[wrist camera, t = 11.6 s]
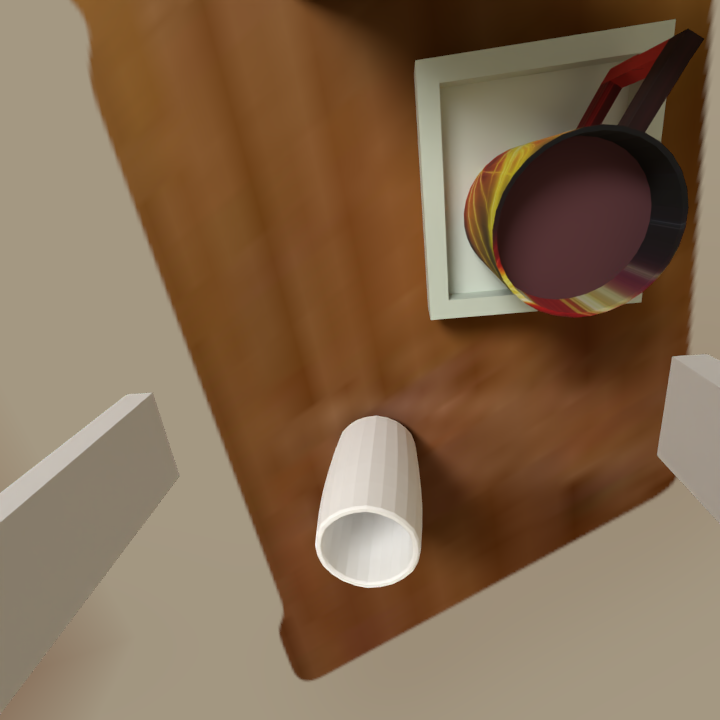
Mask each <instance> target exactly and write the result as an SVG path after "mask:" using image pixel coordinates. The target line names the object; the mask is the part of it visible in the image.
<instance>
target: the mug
mask: <svg viewBox="0 0 720 720" xmlns="http://www.w3.org/2000/svg"><path fill="white" fill-rule="evenodd" d="M703 40H704V38H702V37H700V36H699V35H697V34H696V33H694V32H693V31H691V30H689V29H687V30H685V31H683V32H681V33H679V34H677V35H675V36H674V37H672V38H670V39H668V40H666V41H664V42H662V43H660V44H658V45H656V46H655V47H653V48H651V49H649V50H647V51H645V52H643V53H641V54H637V55H635V56H633V57H631V58H630V59H628V60H626V61H624V62H622V63H620V64H618V65H616V66H615V67H613V68H611V69H610V70H609V72H608V73H607V75H606V77H605V78H604V80H603V81H602V83H601V85H600V87H599V88H598V90H597V92H596V94H595V96H594V97H593V99H592V101H591V103H590V105H589V106H588V108H587V110H586V112H585V114H584V115H583V117H582V119H581V121H580V122H579V124H578V126H577V128H576V129H575V130H571V131H568V132H564V133H561V134H558V135H554V136H551V137H547V138H544V139H540V140H537V141H533V142H530V143H526V144H523V145H520V146H517V147H514V148H511V149H508V150H507V151H505V152H503V153H502V154H500V155H498V156H496V157H495V158H494V159H493V160H492V161H491V162H489V163H488V164H487V165H486V166H485V167H484V168H483V170H482V171H481V172H480V173H479V174H478V176H477V177H476V179H475V181H474V182H473V184H472V186H471V188H470V190H469V193H468V196H467V199H466V202H465V209H464V228H465V232H466V236H467V239H468V241H469V243H470V246H471V248H472V249H473V251H474V252H475V253H476V255H477V256H478V257H479V258H480V259H481V260H482V261H483V263H484V264H485V265H486V266H487V267H488V268H489V269H490V270H491V271H492V272H493V273H494V274H495V275H496V276H497V277H498V278H499V279H500V280H501V281H502V282H503V283H504V284H505V285H506V286H507V287H508V288H509V290H510V291H511V292H512V293H513V294H515V295H516V296H517V297H518V298H519V299H520V300H522V301H523V302H524V303H525V304H527V305H529V306H531V307H533V308H534V309H536V310H538V311H540V312H544V313H547V314H551V315H554V316H561V317H572V318H574V317H585V316H592V315H596V314H600V313H604V312H607V311H610V310H612V309H614V308H617V307H619V306H621V305H623V304H625V303H627V302H629V301H630V300H632V299H633V298H635V297H636V296H638V295H639V294H641V293H642V292H643V291H644V290H646V289H647V288H648V287H649V286H650V285H651V284H652V283H653V282H654V281H655V280H656V279H657V278H658V277H659V276H660V275H661V273H662V272H663V271H664V270H665V268H666V267H667V266H668V264H669V263H670V261H671V260H672V258H673V256H674V254H675V252H676V251H677V249H678V247H679V245H680V242H681V239H682V236H683V233H684V230H685V227H686V221H687V214H688V193H687V186H686V183H685V179H684V176H683V173H682V170H681V168H680V166H679V165H678V163H677V161H676V159H675V158H674V156H673V154H672V153H671V152H670V151H669V150H668V149H667V148H666V147H665V146H664V145H663V144H662V143H661V142H660V141H659V140H657V139H655V138H653V137H652V136H650V135H648V134H647V133H645V132H646V130H647V129H648V127H649V125H650V124H651V122H652V121H653V119H654V117H655V116H656V114H657V112H658V111H659V109H660V108H661V106H662V104H663V103H664V101H665V99H666V98H667V96H668V95H669V93H670V91H671V90H672V88H673V87H674V85H675V83H676V82H677V80H678V78H679V77H680V75H681V74H682V72H683V70H684V69H685V67H686V66H687V64H688V62H689V61H690V59H691V58H692V56H693V55H694V53H695V52H696V50H697V49H698V47H699V46H700V44H701V43H702V42H703ZM642 79H644V81H643V83H642V84H641V86H640V88H639V89H638V91H637V93H636V95H635V96H634V98H633V100H632V101H631V103H630V105H629V106H628V108H627V110H626V111H625V113H624V115H623V116H622V118H621V120H620V122H619V123H618V125H609V124H602V122H603V120H604V119H605V117H606V115H607V114H608V112H609V110H610V108H611V107H612V105H613V103H614V101H615V100H616V98H617V96H618V94H619V93H620V91H621V89H622V88H623V87H626V86H628V85H630V84H633V83H635V82H638V81H640V80H642Z"/></svg>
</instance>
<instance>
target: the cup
mask: <svg viewBox="0 0 720 720" xmlns="http://www.w3.org/2000/svg"><path fill="white" fill-rule="evenodd" d="M421 539H422V495H421V484H420V474H419V466H418V459H417V452H416V446H415V442H414V439H413V437H412V434H411V433H410V432H409V431H408V430H407V429H406V428H405V427H404V426H403V425H401V424H400V423H398V422H397V421H395V420H392V419H389V418H387V417H381V416H370V417H365V418H362V419H359V420H356V421H355V422H353V423H352V424H350V425H349V426H348V427H347V428H346V429H345V430H344V431H343V432H342V434H341V437H340V439H339V442H338V445H337V447H336V450H335V453H334V456H333V458H332V461H331V465H330V468H329V471H328V475H327V478H326V482H325V486H324V490H323V494H322V499H321V504H320V510H319V517H318V525H317V533H316V542H315V547H316V551H317V555H318V557H319V559H320V561H321V563H322V565H323V566H324V567H325V568H326V569H327V570H328V571H329V572H331V573H332V574H333V575H334V576H336V577H338V578H339V579H341V580H342V581H345V582H347V583H350V584H353V585H356V586H361V587H366V588H372V587H382V586H386V585H391V584H394V583H396V582H398V581H400V580H402V579H403V578H405V577H406V576H407V575H409V574H410V573H411V572H412V571H413V570H414V569H415V567H416V565H417V563H418V561H419V556H420V552H421Z"/></svg>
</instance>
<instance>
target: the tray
mask: <svg viewBox="0 0 720 720" xmlns="http://www.w3.org/2000/svg"><path fill="white" fill-rule="evenodd" d="M675 23H676V19H673V20H666V21H660V22H654V23H648V24H641V25H635V26H629V27H622V28H616V29H610V30H604V31H597V32H591V33H585V34H578V35H572V36H566V37H559V38H553V39H547V40H541V41H534V42H528V43H522V44H515V45H509V46H503V47H497V48H490V49H484V50H478V51H471V52H465V53H459V54H452V55H446V56H440V57H434V58H427V59H421V60H415V68H414V83H415V99H416V116H417V132H418V149H419V165H420V182H421V198H422V214H423V231H424V247H425V264H426V280H427V296H428V309H429V314H430V319H431V320H437V319H449V318H461V317H473V316H485V315H496V314H508V313H520V312H532V311H538V310H536V309H534V308H533V307H531V306H529V305H527V304H525V303H524V302H523V301H522V300H520V299H519V298H518V297H517V296H516V295H515V294H513V293H512V292H511V291H510V290H509V288H508V287H507V286H506V285H505V284H504V283H503V282H502V281H501V280H500V279H499V278H498V277H497V276H496V275H495V274H494V273H493V272H492V271H491V270H490V269H489V268H488V267H487V266H486V265H485V264H484V263H483V261H482V260H481V259H480V258H479V257H478V256H477V255H476V253H475V252H474V251H473V249H472V248H471V246H470V243H469V241H468V239H467V236H466V232H465V228H464V209H465V202H466V199H467V196H468V193H469V190H470V188H471V186H472V184H473V182H474V181H475V179H476V177H477V176H478V174H479V173H480V172H481V171H482V170H483V168H484V167H485V166H486V165H487V164H488V163H489V162H491V161H492V160H493V159H494V158H495V157H496V156H498V155H500V154H502V153H503V152H505V151H507V150H508V149H511V148H514V147H517V146H520V145H523V144H526V143H530V142H533V141H537V140H540V139H544V138H547V137H551V136H554V135H558V134H561V133H564V132H568V131H571V130H575V129H576V128H577V126H578V124H579V122H580V121H581V119H582V117H583V115H584V114H585V112H586V110H587V108H588V106H589V105H590V103H591V101H592V99H593V97H594V96H595V94H596V92H597V90H598V88H599V87H600V85H601V83H602V81H603V80H604V78H605V77H606V75H607V73H608V72H609V70H610V69H611V68H613V67H615V66H616V65H618V64H620V63H622V62H624V61H626V60H628V59H630V58H631V57H633V56H635V55H637V54H641V53H643V52H645V51H647V50H649V49H651V48H653V47H655V46H656V45H658V44H660V43H662V42H664V41H666V40H668V39H670V38H672V37H674V31H675ZM643 81H644V79H642V80H640V81H638V82H635V83H633V84H630V85H628V86H626V87H623V88H622V89H621V91H620V93H619V94H618V96H617V98H616V100H615V101H614V103H613V105H612V107H611V108H610V110H609V112H608V114H607V115H606V117H605V119H604V120H603V122H602V124H609V125H618V123H619V122H620V120H621V118H622V116H623V115H624V113H625V111H626V110H627V108H628V106H629V105H630V103H631V101H632V100H633V98H634V96H635V95H636V93H637V91H638V89H639V88H640V86H641V84H642V83H643ZM665 105H666V99H665V101H664V103H663V104H662V106H661V108H660V109H659V111H658V112H657V114H656V116H655V117H654V119H653V121H652V122H651V124H650V125H649V127H648V129H647V130H646V132H645V133H647V134H648V135H650V136H652V137H653V138H655V139H657V140H659V141H660V142H661V138H662V129H663V121H664V113H665ZM642 293H643V292H642ZM642 293H641V294H639V295H638V296H636V297H635V298H633V299H632V300H630V301H629V302H627V303H639V302H641V301H642ZM627 303H625V304H627Z"/></svg>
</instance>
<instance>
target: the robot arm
mask: <svg viewBox="0 0 720 720" xmlns="http://www.w3.org/2000/svg"><path fill="white" fill-rule="evenodd" d="M657 456H658V457H659V458H660V459H661V460H662V462H663V463H664V464H665V465H666V466H667V467H668V468H669V469H670V470H671V471H672V472H673V473H674V475H675V476H676V477H677V478H678V479H679V480H680V481H681V482H682V483H683V484H684V485H685V487H686V488H687V489H688V490H689V491H690V492H691V493H692V494H693V495H694V496H695V497H696V498H697V499H698V501H699V502H700V503H701V504H702V505H703V506H704V507H705V508H706V509H707V510H708V512H709V513H710V514H711V515H712V516H713V517H714V518H715V519H716V520H717V521H718V522H719V523H720V361H719V360H718V359H716V358H714V357H712V356H711V355H709V354H700V355H685V356H672V362H671V368H670V375H669V381H668V387H667V394H666V400H665V407H664V413H663V420H662V426H661V433H660V439H659V445H658V452H657ZM178 478H179V473H178V470H177V467H176V464H175V460H174V457H173V455H172V451H171V448H170V445H169V442H168V439H167V436H166V432H165V429H164V426H163V423H162V420H161V417H160V414H159V411H158V408H157V405H156V402H155V398H154V395H153V393H140V394H127V395H125V396H124V397H123V398H122V399H120V400H119V401H118V402H117V403H115V404H114V405H113V406H111V407H110V408H109V409H107V410H106V411H105V412H103V413H102V414H101V415H100V416H98V417H97V418H96V419H94V420H93V421H92V422H91V423H89V424H88V425H87V426H86V427H84V428H83V429H82V430H80V431H79V432H78V433H77V434H75V435H74V436H73V437H71V438H70V439H69V440H68V441H66V442H65V443H64V444H62V445H61V446H60V447H59V448H57V449H56V450H55V451H54V452H52V453H51V454H50V455H48V456H47V457H46V458H44V459H43V460H42V461H41V462H39V463H38V464H37V465H36V466H34V467H33V468H32V469H30V470H29V471H28V472H26V473H25V474H24V475H23V476H21V477H20V478H19V479H18V480H16V481H15V482H14V483H12V484H11V485H10V486H8V488H6V489H5V490H3V491H2V492H1V493H0V714H1V713H2V711H3V710H4V709H5V707H6V706H7V705H8V703H9V702H10V701H11V700H12V698H13V697H14V696H15V694H16V693H17V691H18V690H19V689H20V687H21V686H22V685H23V684H24V682H25V681H26V680H27V678H28V677H29V675H30V674H31V673H32V672H33V670H34V669H35V668H36V666H37V665H38V664H39V662H40V661H41V660H42V658H43V657H44V656H45V654H46V653H47V652H48V650H49V649H50V648H51V646H52V645H53V644H54V642H55V641H56V640H57V638H58V637H59V636H60V634H61V633H62V632H63V630H64V629H65V628H66V626H67V625H68V624H69V622H70V621H71V620H72V618H73V617H74V616H75V614H76V613H77V612H78V610H79V609H80V608H81V607H82V605H83V604H84V603H85V601H86V600H87V599H88V597H89V596H90V595H91V593H92V592H93V591H94V589H95V588H96V587H97V585H98V584H99V583H100V581H101V580H102V579H103V577H104V576H105V575H106V573H107V572H108V571H109V569H110V568H111V567H112V565H113V564H114V563H115V561H116V560H117V559H118V557H119V556H120V555H121V553H122V552H123V550H124V549H125V548H126V546H127V545H128V544H129V542H130V541H131V540H132V539H133V537H134V536H135V535H136V533H137V532H138V530H139V529H140V528H141V527H142V525H143V524H144V523H145V521H146V520H147V519H148V517H149V516H150V515H151V513H152V512H153V511H154V509H155V508H156V507H157V506H158V504H159V503H160V502H161V500H162V499H163V498H164V496H165V495H166V494H167V492H168V491H169V490H170V488H171V487H172V486H173V484H174V483H175V482H176V480H177V479H178Z"/></svg>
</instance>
